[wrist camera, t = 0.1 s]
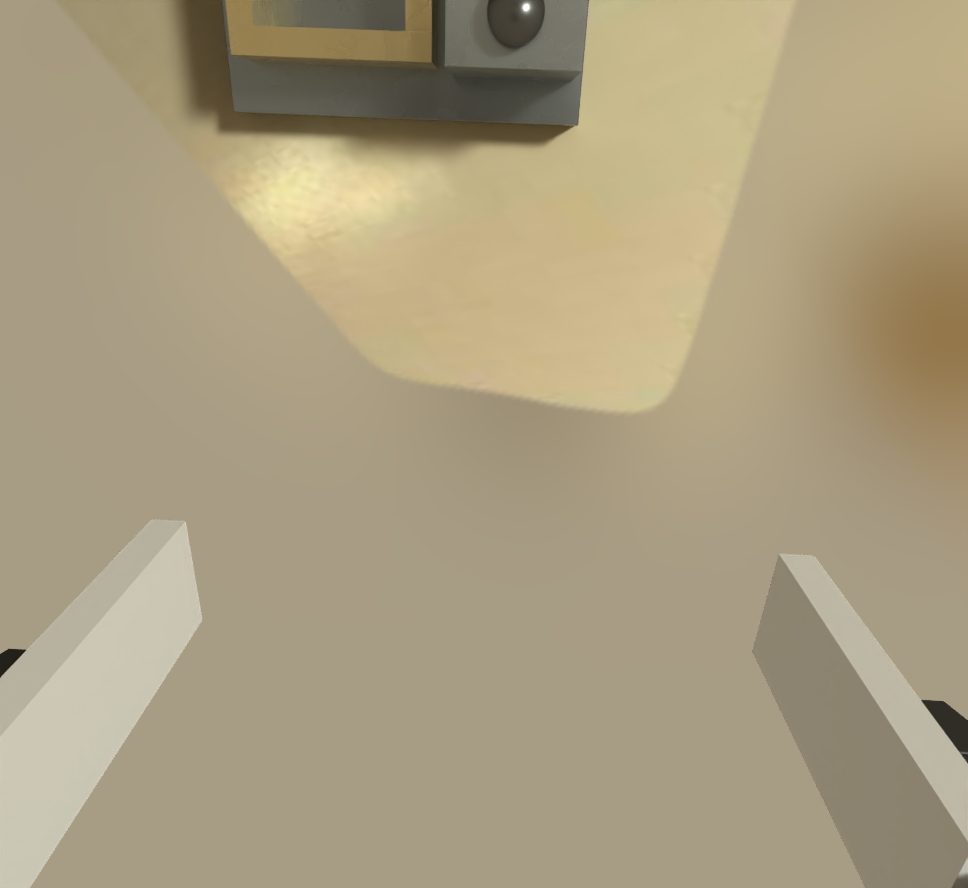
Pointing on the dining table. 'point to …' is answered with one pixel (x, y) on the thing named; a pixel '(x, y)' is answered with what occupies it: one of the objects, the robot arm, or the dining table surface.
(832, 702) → the robot arm
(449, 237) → the dining table surface
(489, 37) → the grey socket fixture
